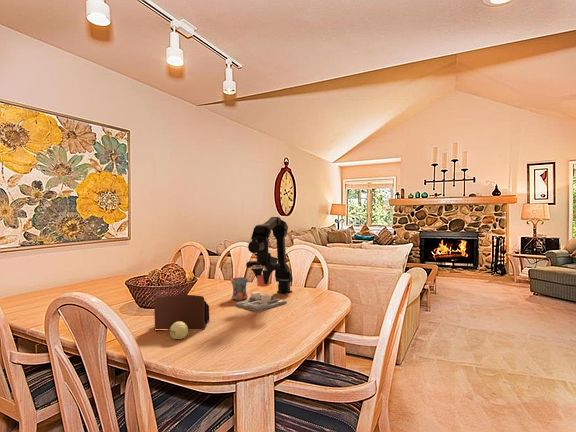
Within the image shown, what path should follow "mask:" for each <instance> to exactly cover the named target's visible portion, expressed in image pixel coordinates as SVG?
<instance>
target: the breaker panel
mask: <svg viewBox="0 0 576 432" xmlns="http://www.w3.org/2000/svg"><path fill="white" fill-rule="evenodd" d="M261 295H262V294H260V299H256V301H255V298H252V297H251V296H250V297H249V299H248V300H246V299H245V300H244V301H243V300H241V301H239V302H235V306H236V307H239V308H242V309H245V310H249V311H253V312H256V313H259V312H262V311H266V310H269V309H272V308H276V307H280V306H283V305H285V304H287V303H288V302H287V300H284V299H281V298H275V297H274V296H271V301H270V302H267V303H266V302H262V301H261Z"/></svg>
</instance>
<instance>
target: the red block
mask: <svg viewBox="0 0 576 432" xmlns="http://www.w3.org/2000/svg"><path fill="white" fill-rule="evenodd" d="M256 282H257V285H256V286H257V287H260V288H264V287H269V286H270V279H269V280H268V283H267V284H265V282H264V278H263V273H262V275H257V278H256Z"/></svg>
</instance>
